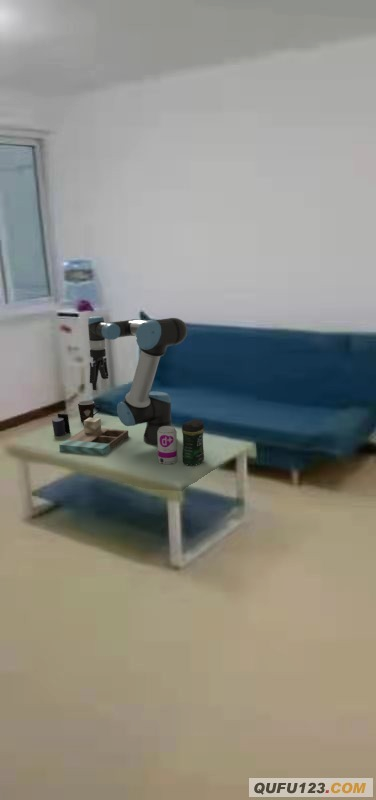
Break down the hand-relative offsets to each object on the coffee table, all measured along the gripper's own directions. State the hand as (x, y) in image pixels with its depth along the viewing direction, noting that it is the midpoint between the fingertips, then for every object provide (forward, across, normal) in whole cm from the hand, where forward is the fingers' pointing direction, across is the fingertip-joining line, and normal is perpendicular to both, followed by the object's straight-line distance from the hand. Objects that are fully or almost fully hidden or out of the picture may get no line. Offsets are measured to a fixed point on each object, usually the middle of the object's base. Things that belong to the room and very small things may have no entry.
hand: (100, 393), depth 308 cm
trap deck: (+19, +18, +5) cm, 27 cm away
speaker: (+20, +10, -18) cm, 28 cm away
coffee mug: (+20, -15, -14) cm, 29 cm away
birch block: (+16, +10, 0) cm, 19 cm away
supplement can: (+20, +32, +46) cm, 60 cm away
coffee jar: (+20, +30, +58) cm, 68 cm away
